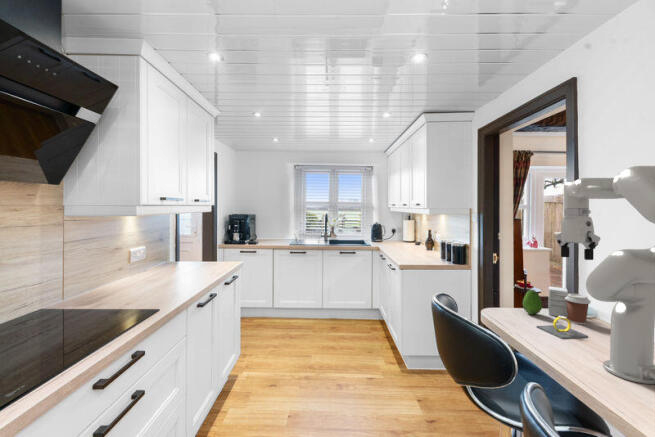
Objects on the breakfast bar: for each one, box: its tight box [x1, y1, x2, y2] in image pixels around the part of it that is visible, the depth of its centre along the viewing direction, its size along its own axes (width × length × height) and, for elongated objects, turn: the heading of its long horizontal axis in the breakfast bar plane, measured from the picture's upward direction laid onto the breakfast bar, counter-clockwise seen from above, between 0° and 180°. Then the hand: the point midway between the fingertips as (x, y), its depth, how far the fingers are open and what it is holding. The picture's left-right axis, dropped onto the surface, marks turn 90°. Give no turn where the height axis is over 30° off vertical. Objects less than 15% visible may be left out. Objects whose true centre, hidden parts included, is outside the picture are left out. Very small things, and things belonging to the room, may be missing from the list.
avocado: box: [522, 289, 543, 315], centre depth 151 cm, size 8×8×12 cm
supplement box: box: [548, 286, 569, 319], centre depth 150 cm, size 7×7×13 cm
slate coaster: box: [536, 324, 589, 340], centre depth 128 cm, size 12×12×1 cm
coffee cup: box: [565, 293, 592, 325], centre depth 141 cm, size 9×9×12 cm
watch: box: [552, 316, 572, 332], centre depth 128 cm, size 6×3×6 cm, turn 80°
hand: (576, 258), depth 119 cm, fingers open, 9 cm apart
